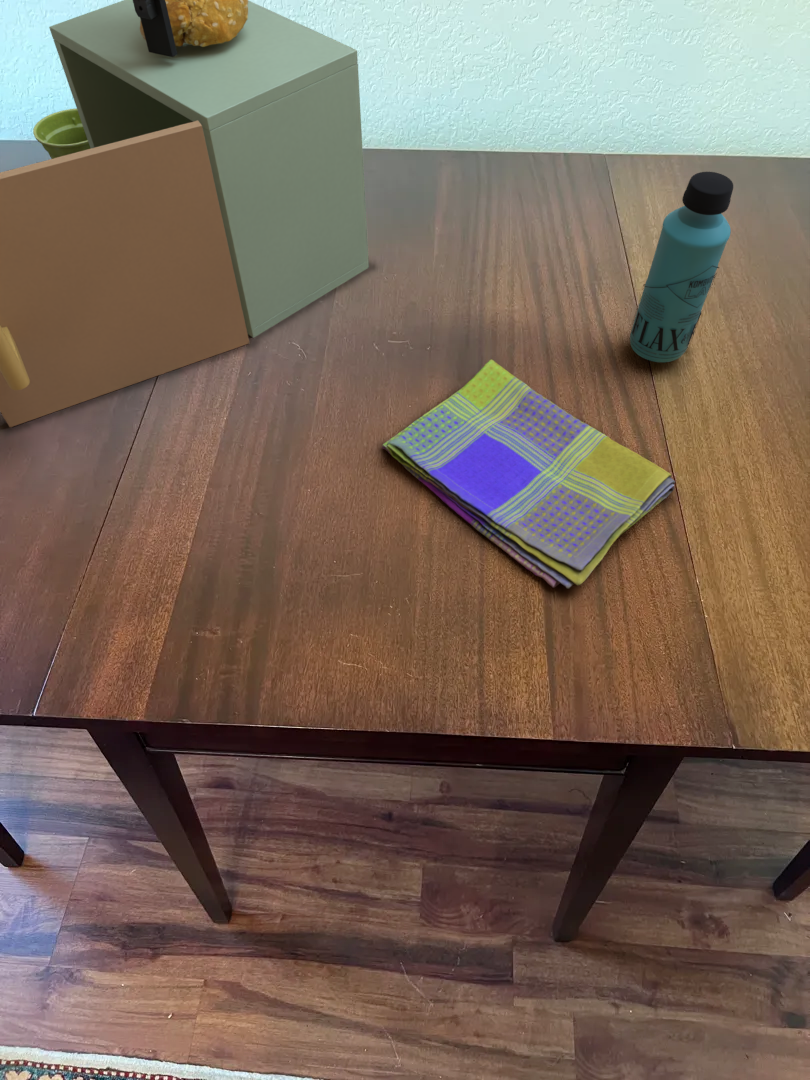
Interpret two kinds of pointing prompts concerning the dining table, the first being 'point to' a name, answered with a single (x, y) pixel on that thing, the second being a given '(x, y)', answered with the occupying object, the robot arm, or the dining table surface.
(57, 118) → the plant pot
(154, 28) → the robot arm
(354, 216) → the cupboard
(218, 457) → the dining table surface
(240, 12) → the bagel
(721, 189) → the beverage bottle
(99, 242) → the cupboard door
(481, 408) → the dish towel
